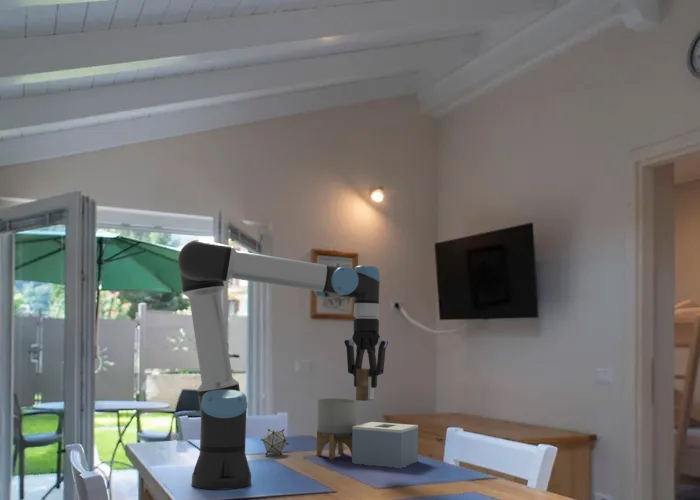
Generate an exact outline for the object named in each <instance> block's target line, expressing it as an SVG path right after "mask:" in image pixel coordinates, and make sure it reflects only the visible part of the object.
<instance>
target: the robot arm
mask: <svg viewBox="0 0 700 500" xmlns="http://www.w3.org/2000/svg"><path fill="white" fill-rule="evenodd" d="M177 264H178V270H179V276H180V282H181V288H182V293H183V295H184V296H185V297H187V298H188V299H189V305H190V311H191V318H192V325H193V332H194V339H195V345H196V351H197V359H198V365H199V366H198V367H199V372H200V379H201V381H200V382H201V384H200V386H199V387H198V388H197V390H196V391H197V398H198V404H199V416H200V434H199V435H200V439H199V455H198V457H197V460H196V463H195V466H194V469H193V473H192V475H191V486H193V487H195V488H199V489H206V490H232V489H239V488H244V487H248V486H249V485H251V483H252V473H251V470H250V466H249V462H248V459H247V455H246V438H247V437H246V433H247V408H248V402H247V401H248V400H247V395H246V394H245V393H244V392H242V391H241V390H240V388H241V387H240V383H239V381H238V380H236V379H235V378H234V377H233V373H232V372H233V371H232V366H231V365H232V364H231V358H230V353H229V352H230V351H229V346H228V339H227V333H226V326H225V320H224V319H225V318H224V313H223V312H224V311H223V307H222V299H221V293H222V291H223V290H224V289H225V285H224V284H225V282H228V281H229V280H231V279H232V280H233V279H234V280H241V281H248V282H253V283H260V284H269V285H275V286H280V287H281V286H282V287H288V288H289V287H290V288H293V289H300V290H301V289H302V290H307V291H308V290H309V291H313V292H314V295H315V296H316V297H321V298H326V299H327V298H350V299H352V298H353V317H355V318H354V319H353V335H352V336H351V337H352V338H349V339H345V340H344V341H343V342H344V345H345V347H346V361H347V373H348V374H351V375H352V376H353V386H354V388H356V371H357V369H361V368H363V367H362V366H363V360H364V354H365V351H366V352H367V357H368V363H369V368H370V374H371V375H370V377H368V399H369V400H368V401H372V400H371V399H374V400H375V388H377V387H378V376H379V375H383V374H384V372H385V371H384V368H385V361H386V360H385V358H386V349H387V346H388V344H389V341H388V340H384V339H382V338H381V336H380V332H379V331H380V320H379V319H378V318H379V317H380V283H381V281H380V269H379V268H378V267H377V266H374V265H356V266H355V267H354V269H353V268H352V267H349V266H343V265H342V266H334V265H328V264H327V265H326V264H322V263H316V262H309V261H302V260H298V259H291V258H284V257H279V256H278V257H277V256H272V255H265V254H259V253H253V252H247V251H242V250H241V251H240V250H237V249H236V248H235V247H234V246H233V245H227V244H222V243H218V242H214V241H210V240H205V239H196V240H191V241H189V242H187V243H186V244H184V245H183V247H182V248H181V250H180V251H179V254H178V257H177ZM354 345H356V349H355V348H354ZM377 345H378V349H377V350H378V352H377V357H376V346H377ZM355 352H356V354H355Z"/></svg>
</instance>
